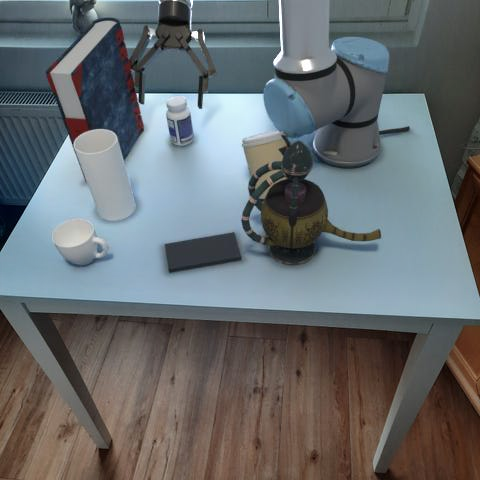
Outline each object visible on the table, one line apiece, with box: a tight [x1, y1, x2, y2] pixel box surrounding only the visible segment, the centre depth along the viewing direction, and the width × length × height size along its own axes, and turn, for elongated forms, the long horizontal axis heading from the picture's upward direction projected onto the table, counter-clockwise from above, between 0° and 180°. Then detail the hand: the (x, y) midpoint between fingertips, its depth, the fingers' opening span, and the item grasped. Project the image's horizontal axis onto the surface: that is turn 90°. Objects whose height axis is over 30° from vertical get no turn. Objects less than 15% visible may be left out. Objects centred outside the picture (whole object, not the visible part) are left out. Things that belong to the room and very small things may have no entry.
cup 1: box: [73, 129, 137, 222], centre depth 95 cm, size 8×8×16 cm
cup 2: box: [51, 218, 109, 266], centre depth 89 cm, size 8×10×7 cm
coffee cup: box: [241, 129, 288, 200], centre depth 98 cm, size 9×9×12 cm
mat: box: [164, 231, 242, 274], centre depth 91 cm, size 14×7×1 cm, turn 101°
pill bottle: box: [165, 95, 195, 147], centre depth 112 cm, size 6×6×10 cm
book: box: [45, 16, 145, 184], centre depth 104 cm, size 25×7×25 cm, turn 167°
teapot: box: [240, 135, 382, 266], centre depth 82 cm, size 12×25×23 cm, turn 82°
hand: (170, 106), depth 111 cm, fingers open, 13 cm apart
